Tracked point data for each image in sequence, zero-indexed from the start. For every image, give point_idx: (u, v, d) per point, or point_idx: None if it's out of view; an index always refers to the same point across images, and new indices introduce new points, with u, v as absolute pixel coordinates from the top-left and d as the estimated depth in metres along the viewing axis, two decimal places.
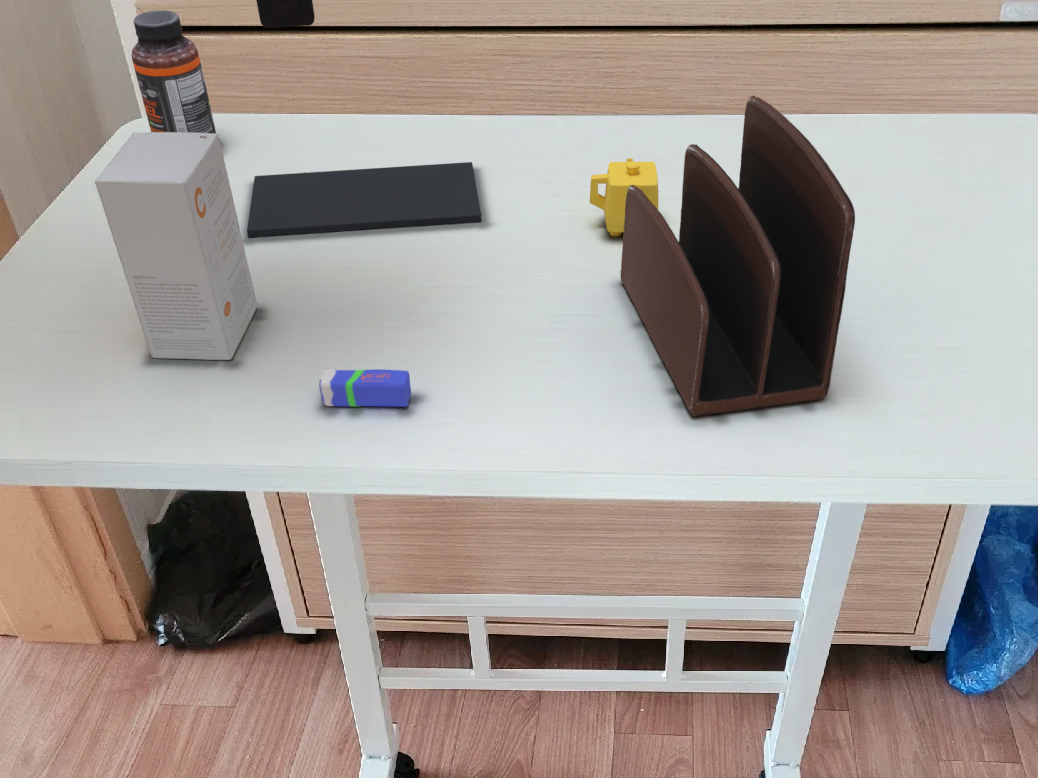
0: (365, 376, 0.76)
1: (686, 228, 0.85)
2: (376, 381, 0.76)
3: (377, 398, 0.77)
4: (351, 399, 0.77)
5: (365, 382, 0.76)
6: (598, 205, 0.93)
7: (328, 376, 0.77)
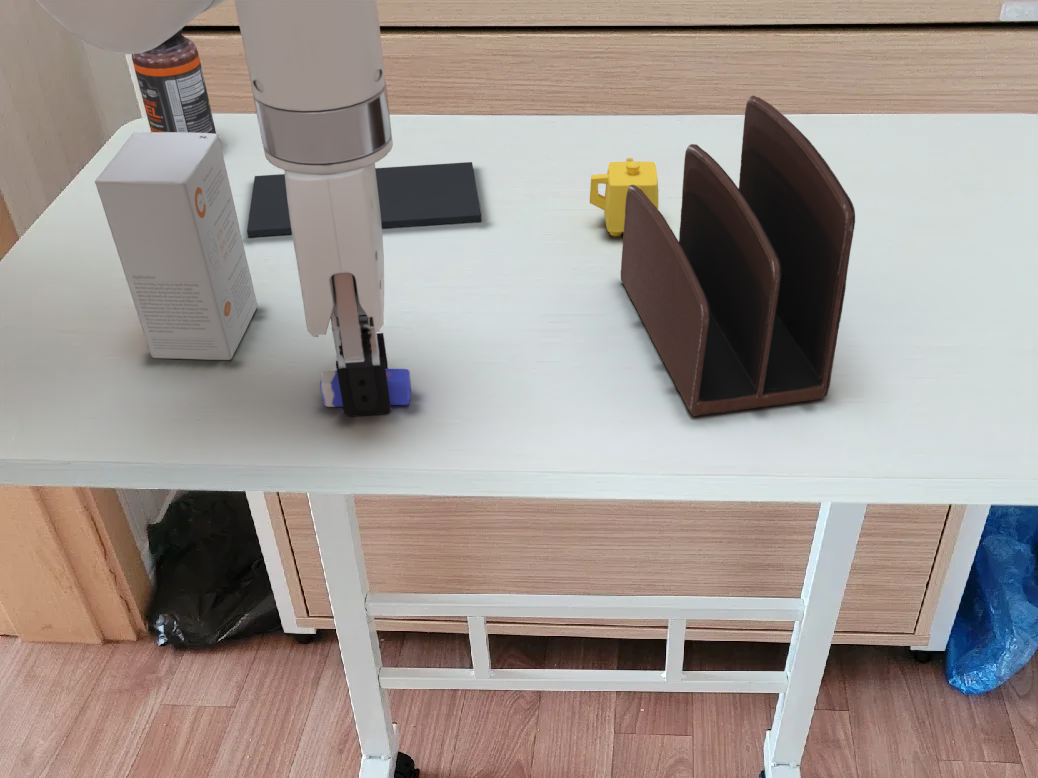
0: None
1: (686, 228, 0.85)
2: None
3: None
4: None
5: None
6: (598, 205, 0.93)
7: (328, 377, 0.77)
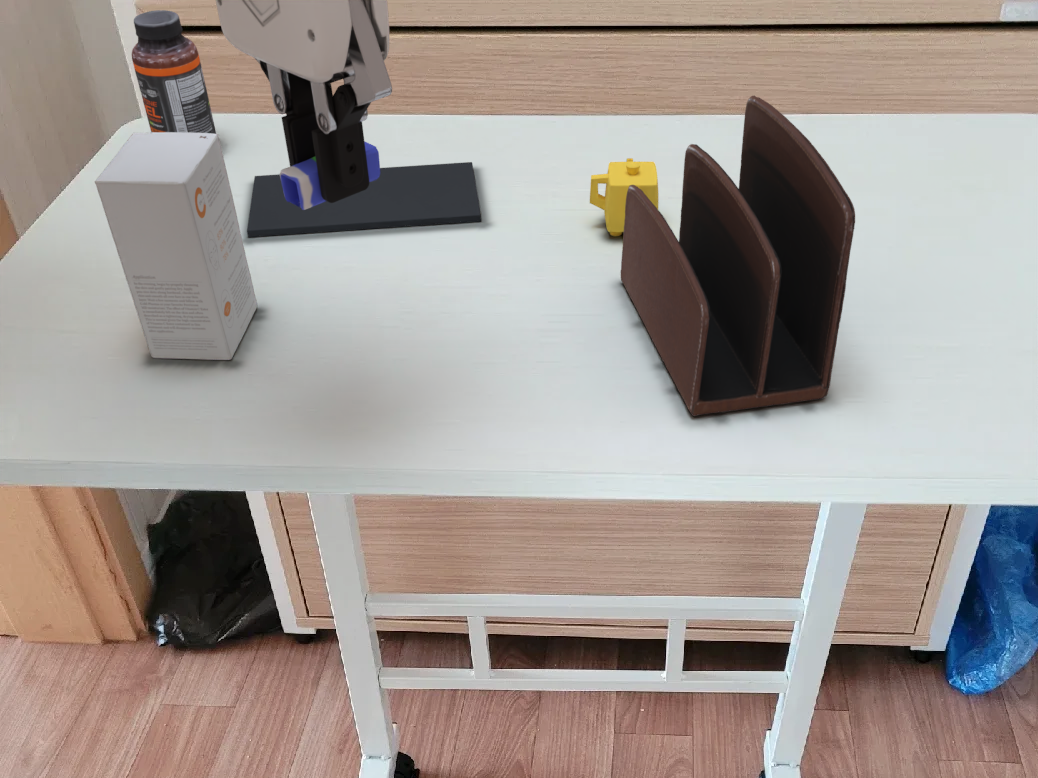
0: None
1: (686, 228, 0.85)
2: None
3: None
4: None
5: None
6: (598, 205, 0.93)
7: (295, 172, 0.65)
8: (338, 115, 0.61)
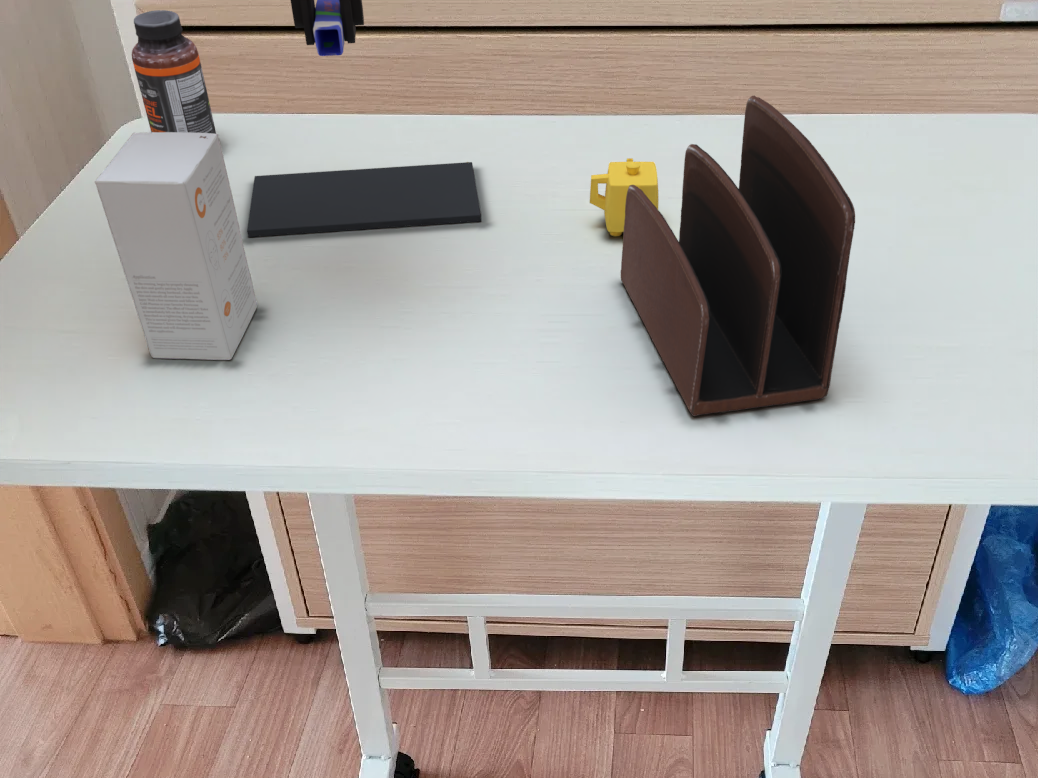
0: (328, 9, 0.77)
1: (686, 228, 0.85)
2: (337, 4, 0.78)
3: None
4: (343, 34, 0.77)
5: (339, 8, 0.77)
6: (598, 205, 0.93)
7: (327, 23, 0.75)
8: None
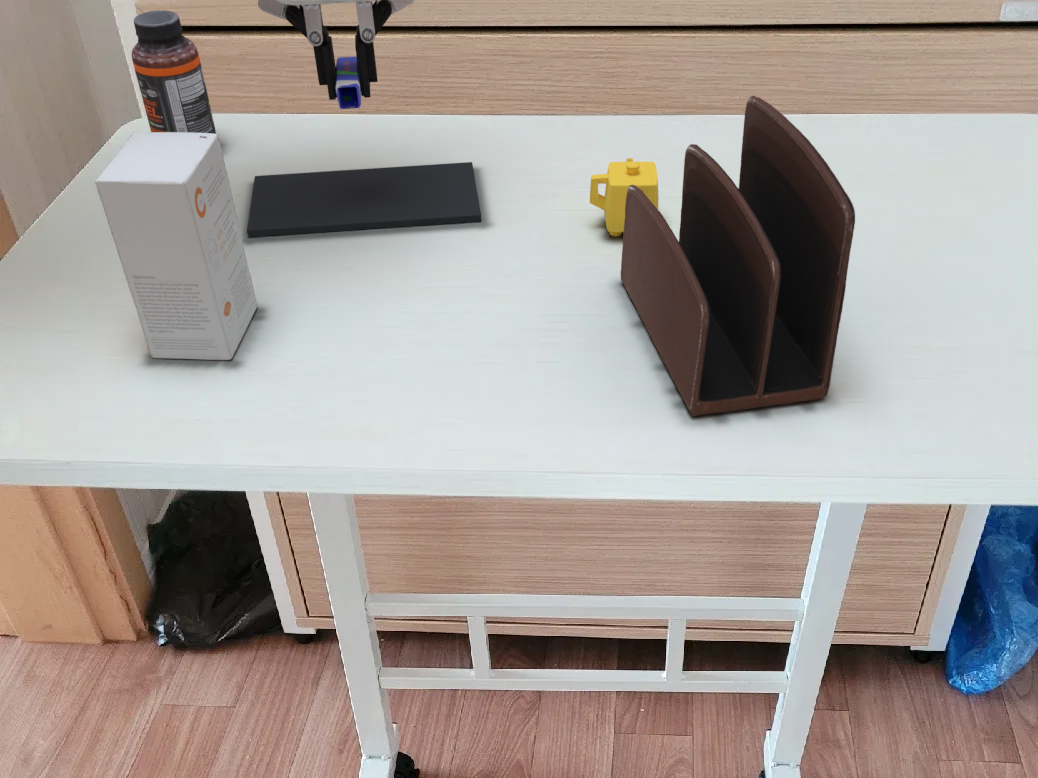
0: (347, 69, 0.91)
1: (686, 228, 0.85)
2: (354, 64, 0.92)
3: None
4: (360, 89, 0.91)
5: (356, 67, 0.91)
6: (598, 205, 0.93)
7: (347, 81, 0.89)
8: (377, 25, 0.88)
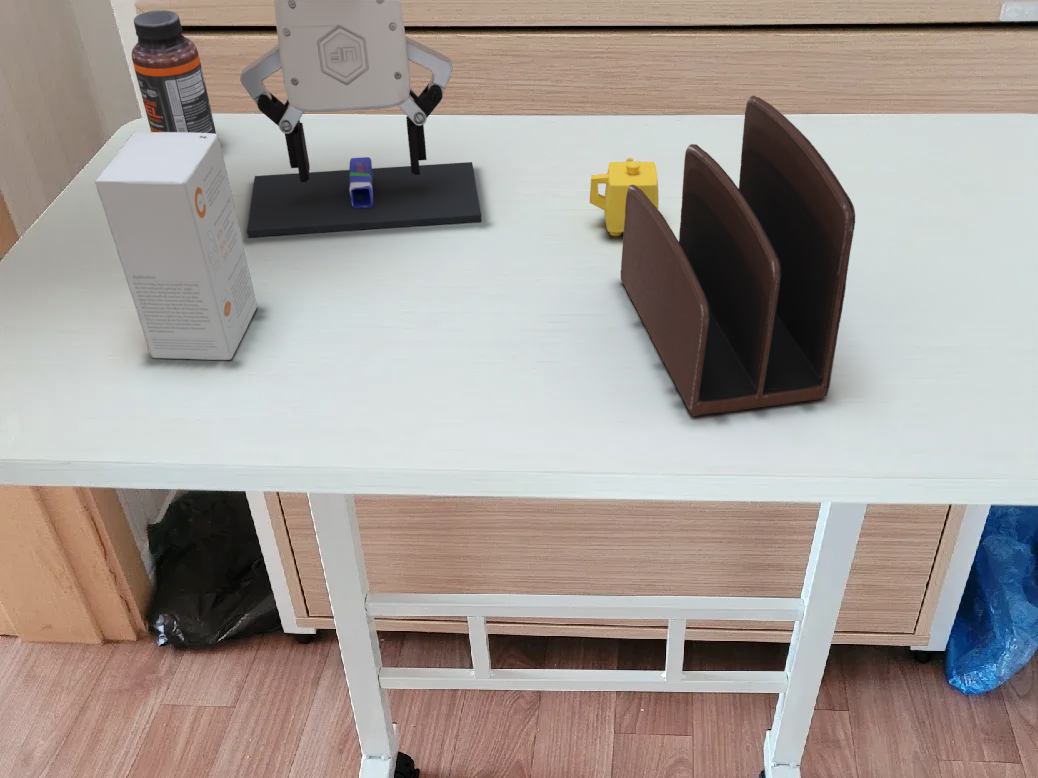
0: (360, 170, 0.97)
1: (686, 228, 0.85)
2: (367, 165, 0.98)
3: None
4: (372, 189, 0.97)
5: (369, 169, 0.97)
6: (598, 205, 0.93)
7: (360, 184, 0.95)
8: (428, 109, 0.93)
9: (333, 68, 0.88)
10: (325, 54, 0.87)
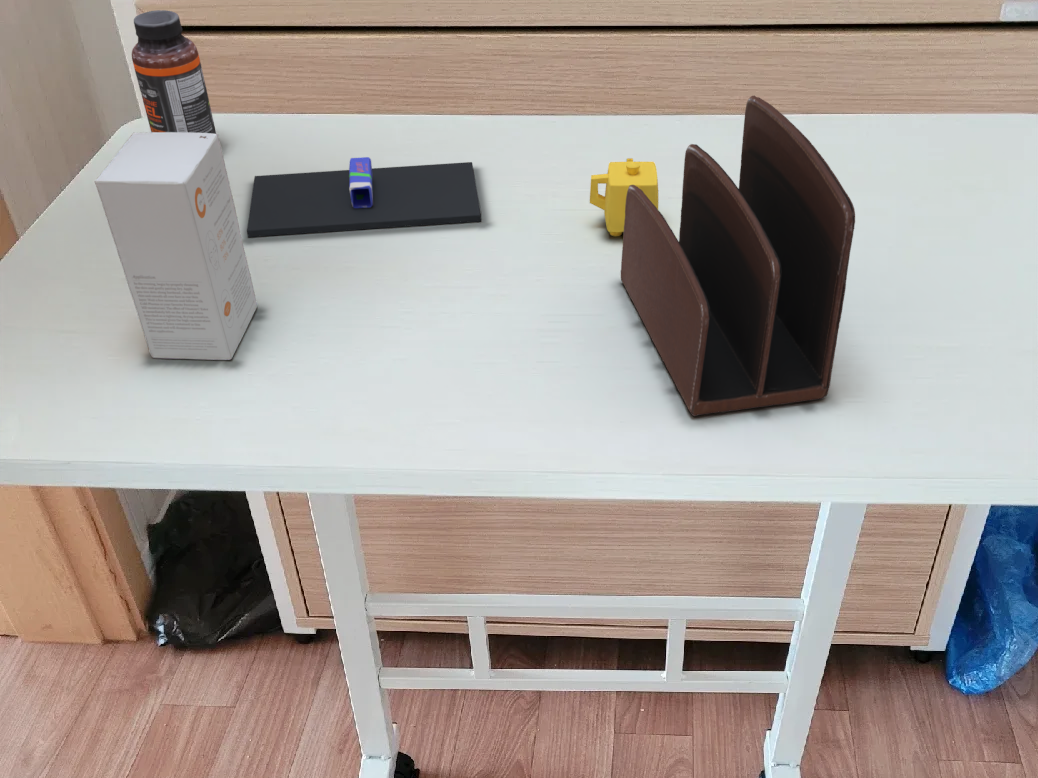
0: (360, 170, 0.97)
1: (686, 228, 0.85)
2: (367, 165, 0.98)
3: None
4: (372, 189, 0.97)
5: (368, 169, 0.97)
6: (598, 205, 0.93)
7: (360, 184, 0.95)
8: None
9: None
10: None
